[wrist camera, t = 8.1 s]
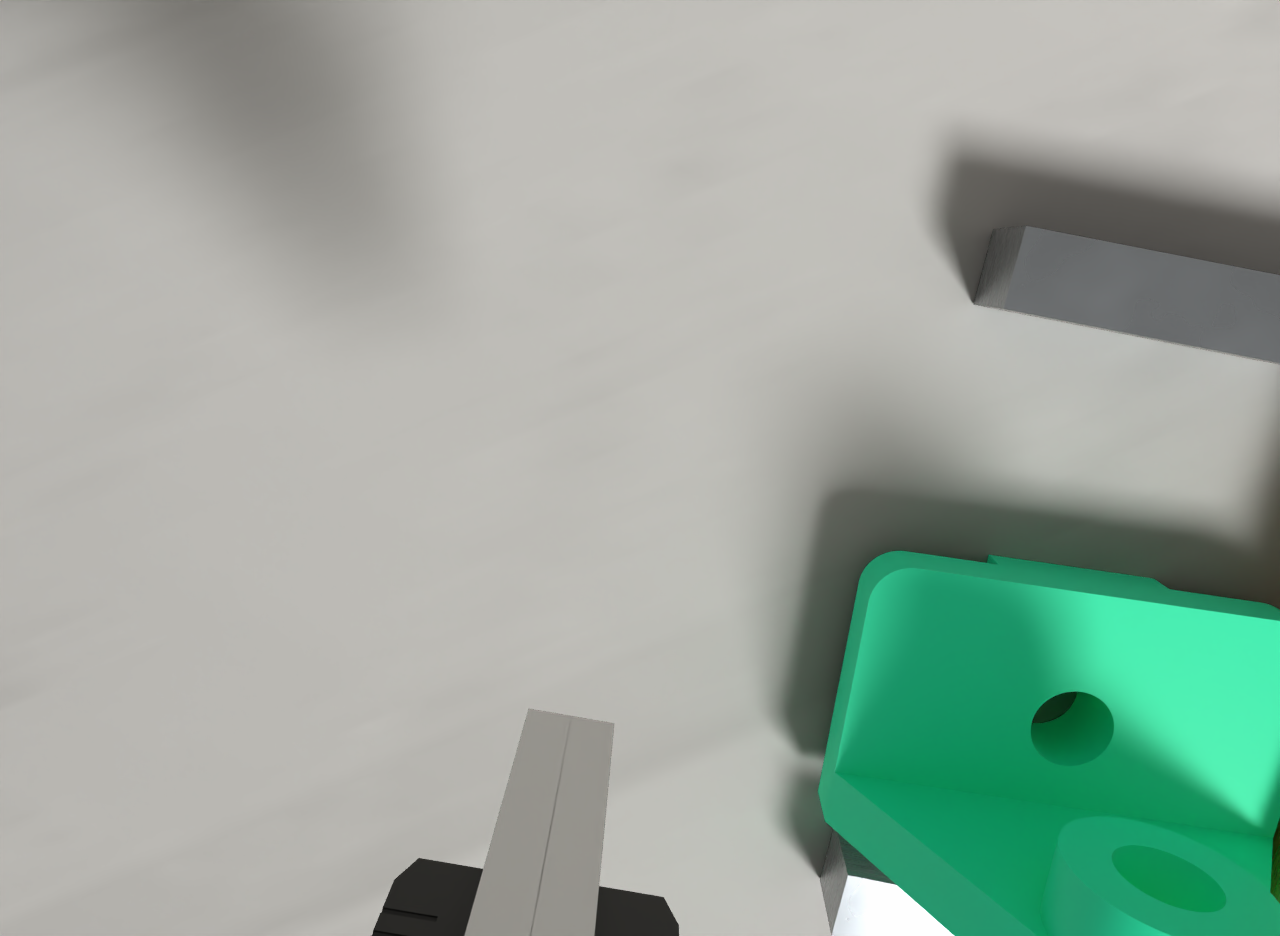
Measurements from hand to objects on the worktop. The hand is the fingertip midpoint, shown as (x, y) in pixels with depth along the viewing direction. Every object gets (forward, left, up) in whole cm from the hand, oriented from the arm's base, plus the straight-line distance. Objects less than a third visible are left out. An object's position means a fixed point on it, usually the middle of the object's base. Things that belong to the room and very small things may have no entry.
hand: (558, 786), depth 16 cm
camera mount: (+13, -1, -12) cm, 18 cm away
